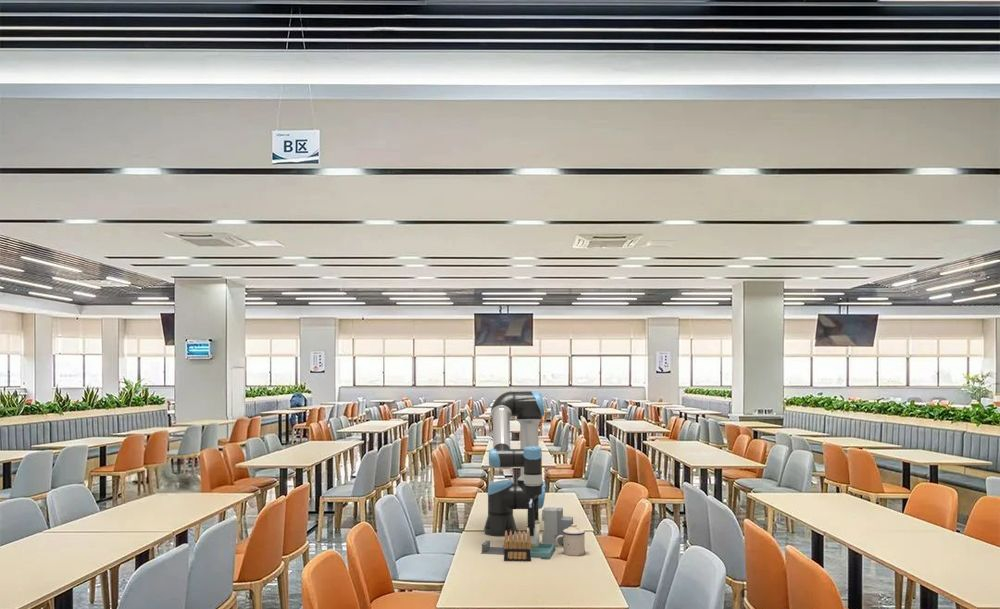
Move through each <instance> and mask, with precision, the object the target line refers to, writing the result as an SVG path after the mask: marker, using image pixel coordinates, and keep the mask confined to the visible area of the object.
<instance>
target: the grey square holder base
mask: <svg viewBox="0 0 1000 609" xmlns="http://www.w3.org/2000/svg"><path fill="white" fill-rule="evenodd" d="M502 546H503V547H501V546H500V547H499V546H491V540H485V541H484V542H483V543H482V544H481V553H480V554H481V555H496V556H498V555H499V556H501V555H502V556H504V544H503V545H502ZM508 548H509V541H508ZM508 554H509V552H508Z"/></svg>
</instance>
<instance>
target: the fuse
mask: <svg viewBox="0 0 1000 609" xmlns="http://www.w3.org/2000/svg"><path fill="white" fill-rule="evenodd" d="M539 522H540V519H539V520H535V527H536V544H531V547H537V546H539V543H541V542H540V524H539ZM526 525H527V526H528V522H527V523H526ZM527 526H526V530H527V531H526V532H527V533H528V531H529V528H527ZM527 533H526V534H527Z"/></svg>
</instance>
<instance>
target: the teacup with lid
mask: <svg viewBox="0 0 1000 609" xmlns="http://www.w3.org/2000/svg"><path fill="white" fill-rule="evenodd" d="M576 525H577V524H576V523H573V524H572V525H571V527H569V528H567V529H564V530H563V535H559V536H557V538H556V543H557V545H558V546H559V547H558V548H561V549H563V554H565V555H567V556H571V557H572V556H574V557H575V556H577V557H578V556H584V554H585V553H586V551H585V550H586V549H585V544H586V543H585V542H586V538H585V533H586V531H585V530H584V529H582V528H580V527H579V526H576ZM560 537H563V545H562V546H561V545H559V544H558V538H560Z"/></svg>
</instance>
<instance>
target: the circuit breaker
mask: <svg viewBox="0 0 1000 609" xmlns="http://www.w3.org/2000/svg"><path fill="white" fill-rule="evenodd" d="M541 512H542V513H541V521H542V522H543V533H542V534H541V543H545V544H555V548H560V547H559V546H558V545H557V543H556V538H557V536H559V535H563V530H564V529H567V528H569V527H571V525H572V524H574V517H573V516H564V507H555V506H554V507H550V506H544V508H543V509H541ZM576 527H578V526H577V524H576ZM558 544H559V545H561V546H563V545H564V542H563V537H560V538H558Z"/></svg>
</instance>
